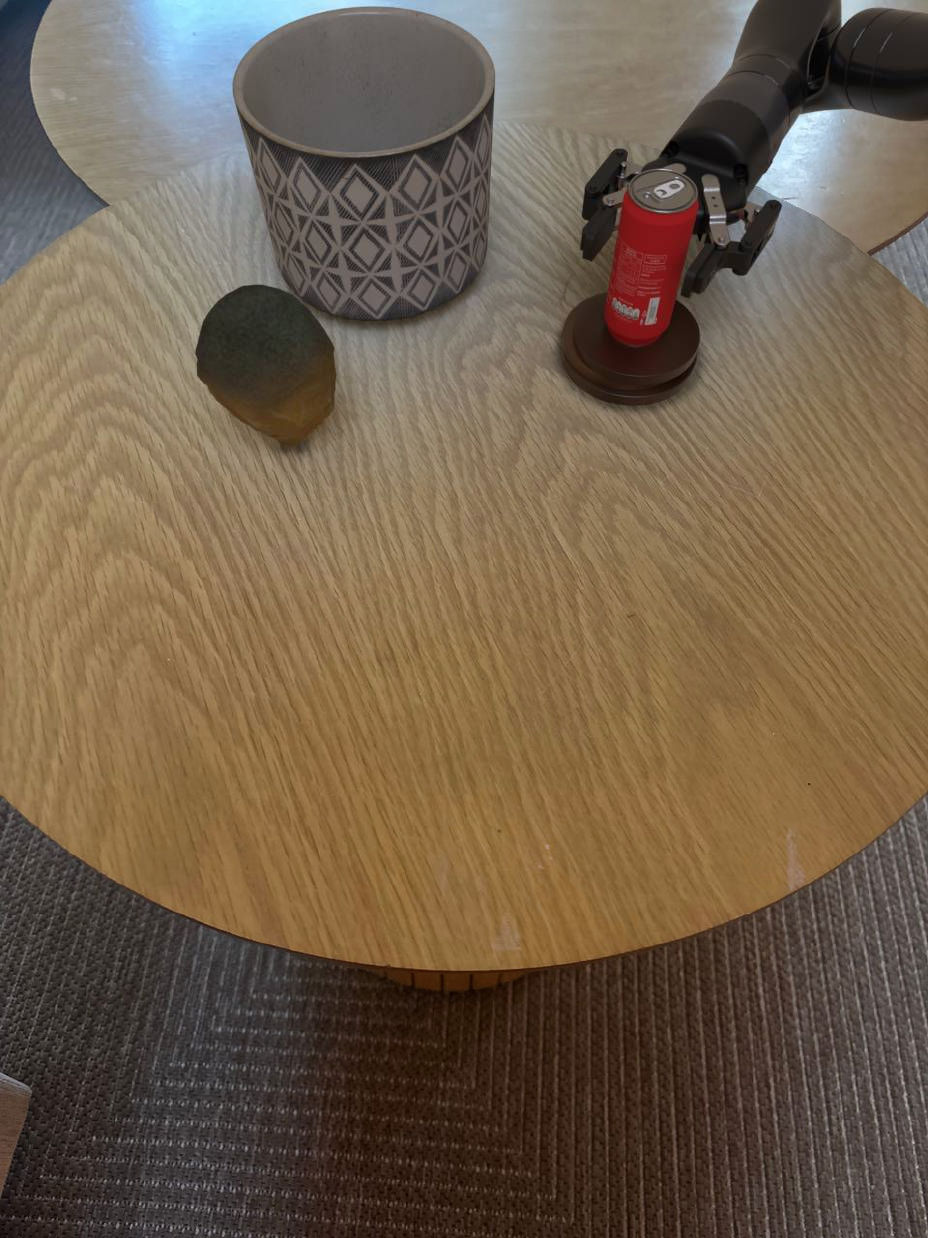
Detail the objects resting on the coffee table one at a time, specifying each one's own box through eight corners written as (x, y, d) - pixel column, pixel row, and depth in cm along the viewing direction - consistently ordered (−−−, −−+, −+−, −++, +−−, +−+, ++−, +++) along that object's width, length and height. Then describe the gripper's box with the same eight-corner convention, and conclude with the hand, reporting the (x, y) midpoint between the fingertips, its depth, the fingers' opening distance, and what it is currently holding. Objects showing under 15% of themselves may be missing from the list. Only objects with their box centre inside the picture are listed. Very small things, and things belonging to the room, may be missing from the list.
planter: (489, 342, 74) (492, 157, 60) (261, 338, 75) (210, 153, 60) (493, 196, 84) (497, 6, 69) (291, 193, 84) (253, 4, 70)
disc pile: (702, 321, 75) (710, 293, 73) (685, 417, 70) (694, 389, 67) (574, 300, 77) (577, 271, 74) (548, 391, 71) (551, 364, 69)
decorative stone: (350, 412, 70) (322, 252, 57) (351, 473, 68) (322, 318, 54) (228, 421, 70) (172, 261, 57) (224, 482, 67) (164, 328, 54)
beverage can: (589, 320, 71) (609, 183, 61) (639, 295, 73) (667, 157, 62) (630, 359, 69) (658, 223, 59) (681, 332, 70) (717, 195, 60)
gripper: (650, 72, 69) (552, 189, 62) (828, 127, 65) (744, 257, 58) (635, 162, 75) (544, 277, 69) (796, 217, 72) (717, 344, 65)
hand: (636, 268), depth 64 cm, fingers open, 7 cm apart
